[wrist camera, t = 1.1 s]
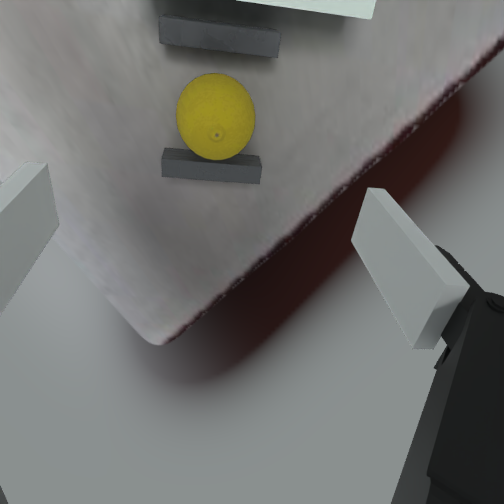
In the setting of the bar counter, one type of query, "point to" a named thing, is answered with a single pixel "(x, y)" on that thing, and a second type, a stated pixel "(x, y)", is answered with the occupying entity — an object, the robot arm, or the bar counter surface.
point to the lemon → (215, 116)
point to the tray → (327, 6)
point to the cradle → (220, 39)
